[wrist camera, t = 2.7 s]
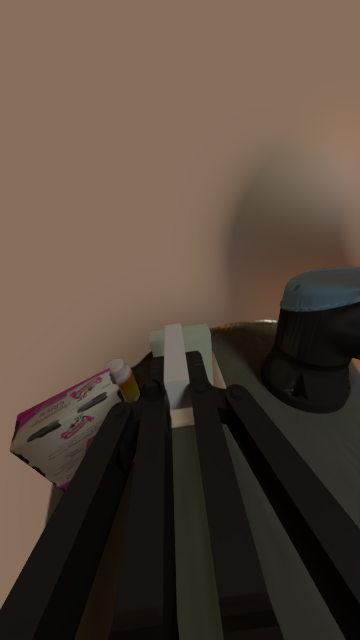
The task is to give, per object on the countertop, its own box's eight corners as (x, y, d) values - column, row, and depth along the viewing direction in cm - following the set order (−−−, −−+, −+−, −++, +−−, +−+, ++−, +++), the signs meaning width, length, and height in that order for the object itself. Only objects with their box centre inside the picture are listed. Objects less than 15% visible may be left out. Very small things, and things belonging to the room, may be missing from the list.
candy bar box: (139, 427, 33) (110, 365, 25) (150, 451, 29) (121, 387, 21) (76, 471, 28) (15, 412, 20) (80, 507, 24) (5, 453, 16)
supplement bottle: (143, 387, 41) (132, 355, 36) (135, 409, 36) (120, 376, 31) (122, 387, 42) (107, 355, 37) (111, 408, 37) (93, 376, 32)
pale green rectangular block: (210, 384, 38) (206, 323, 30) (214, 396, 35) (210, 332, 27) (166, 390, 38) (150, 331, 30) (166, 403, 35) (149, 341, 27)
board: (213, 354, 47) (212, 351, 47) (236, 418, 32) (236, 415, 31) (156, 362, 47) (155, 360, 47) (151, 430, 32) (150, 427, 31)
